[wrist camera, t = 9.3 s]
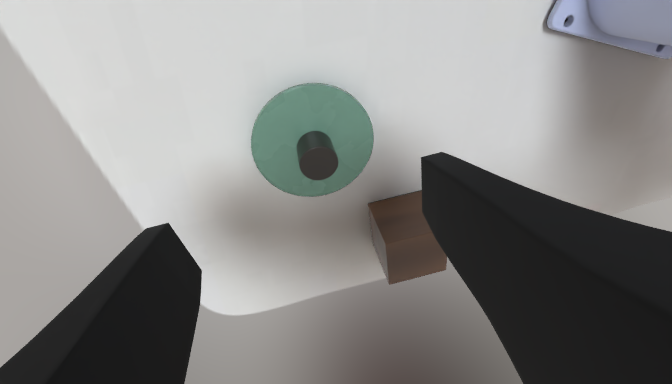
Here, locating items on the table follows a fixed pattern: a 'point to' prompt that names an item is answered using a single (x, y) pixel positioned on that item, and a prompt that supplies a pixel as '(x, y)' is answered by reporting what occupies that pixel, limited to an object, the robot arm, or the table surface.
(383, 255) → the block
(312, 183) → the lid
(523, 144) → the table surface
